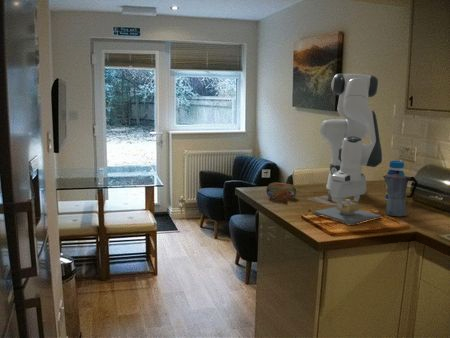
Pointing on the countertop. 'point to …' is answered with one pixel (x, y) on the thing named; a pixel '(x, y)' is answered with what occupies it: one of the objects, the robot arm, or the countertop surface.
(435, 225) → the countertop surface
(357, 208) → the tan square frame
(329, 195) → the stand
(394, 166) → the beverage bottle
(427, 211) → the countertop surface
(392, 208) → the moka pot
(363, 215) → the plate
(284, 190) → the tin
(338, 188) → the robot arm
